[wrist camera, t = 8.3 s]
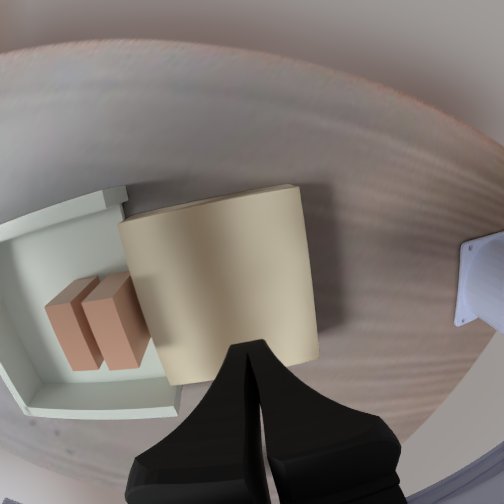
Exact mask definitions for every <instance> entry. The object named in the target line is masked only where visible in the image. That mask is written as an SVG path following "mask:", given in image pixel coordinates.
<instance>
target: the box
mask: <svg viewBox="0 0 504 504" xmlns="http://www.w3.org/2000/svg"><path fill="white" fill-rule="evenodd" d="M125 201H128V196H127V191H126V186H125V185H123V186H118V187H113V188H108V189H104V190H100V191H97V192H93V193H90V194H87V195H83V196H80V197H77V198H74V199H71V200H68V201H64V202H61V203H58V204H55V205H53V206H50V207H47V208H44V209H41V210H38V211H35V212H33V213H30V214H27V215H24V216H22V217H19V218H16V219H14V220H11V221H9V222H6V223H4V224H1V225H0V375H1V377H2V378H3V380H4V382H5V384H6V385H7V387H8V389H9V390H10V392H11V394H12V395H13V397H14V398H15V400H16V402H17V403H18V405H19V406H20V408H21V409H22V411H23V412H24V414H25V415H28V416H38V417H50V418H66V419H143V418H160V417H173V416H178V414H179V407H180V400H181V393H182V386H183V384H182V385H174V386H170V383H169V381H168V379H167V376H166V374H165V371H164V369H163V366H162V364H161V361H160V359H159V356H158V354H157V351H156V348H155V346H154V343H153V340H152V338H150V340H149V343H148V346H147V348H146V351H145V354H144V357H143V359H142V362H141V365H140V367H139V368H135V369H124V370H112V371H109V368H108V366H107V364H106V362H105V360H104V361H103V363H102V365H101V367H100V368H99V370H88V371H73V370H72V368H71V366H70V364H69V362H68V360H67V358H66V356H65V354H64V352H63V350H62V348H61V346H60V343H59V341H58V339H57V337H56V335H55V332H54V330H53V328H52V325H51V323H50V321H49V318H48V316H47V313H46V311H45V308H44V306H45V305H47V304H48V303H49V302H50V301H51V300H52V299H53V298H54V297H56V296H57V295H58V294H59V293H60V292H61V291H62V290H63V289H65V288H66V287H67V286H68V285H69V284H70V283H72V282H73V281H74V280H77V279H82V278H87V277H92V276H97V275H98V277H99V280H100V282H101V281H102V280H103V279H104V278H105V277H106V276H107V275H111V274H116V273H121V272H126V271H129V267H128V264H127V260H126V257H125V253H124V250H123V246H122V242H121V238H120V235H119V231H118V227H117V224H118V223H120V222H121V221H123V220H125V215H124V211H123V207H122V203H123V202H125Z"/></svg>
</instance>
